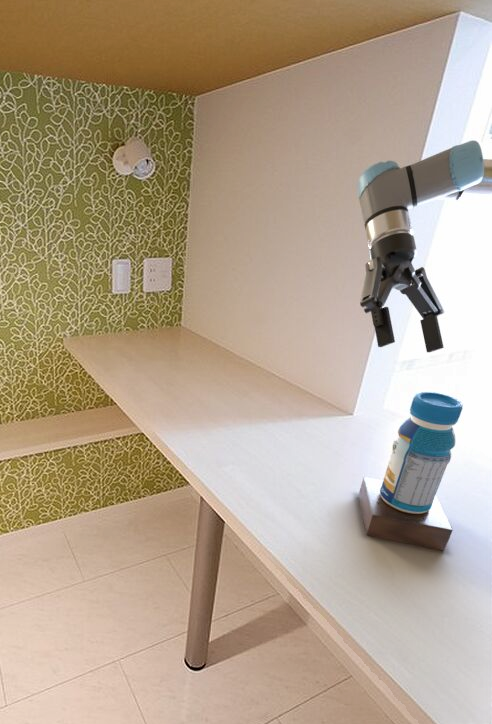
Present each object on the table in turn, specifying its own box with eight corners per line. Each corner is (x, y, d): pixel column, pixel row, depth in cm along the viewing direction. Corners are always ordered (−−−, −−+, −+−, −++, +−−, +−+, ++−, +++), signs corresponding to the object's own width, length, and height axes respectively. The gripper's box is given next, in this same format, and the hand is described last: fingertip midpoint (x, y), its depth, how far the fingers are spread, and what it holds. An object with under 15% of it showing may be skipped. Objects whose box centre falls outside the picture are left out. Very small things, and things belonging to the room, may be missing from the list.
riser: (426, 508, 83) (433, 489, 81) (444, 551, 73) (452, 530, 71) (358, 495, 87) (363, 477, 85) (366, 535, 76) (372, 514, 74)
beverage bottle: (410, 521, 73) (448, 414, 64) (367, 493, 80) (396, 393, 71) (442, 508, 76) (482, 405, 68) (398, 482, 83) (429, 386, 74)
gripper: (414, 262, 92) (434, 358, 88) (327, 241, 81) (345, 349, 77) (450, 242, 85) (474, 345, 81) (361, 217, 75) (383, 334, 71)
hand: (411, 347), depth 79 cm, fingers open, 13 cm apart
